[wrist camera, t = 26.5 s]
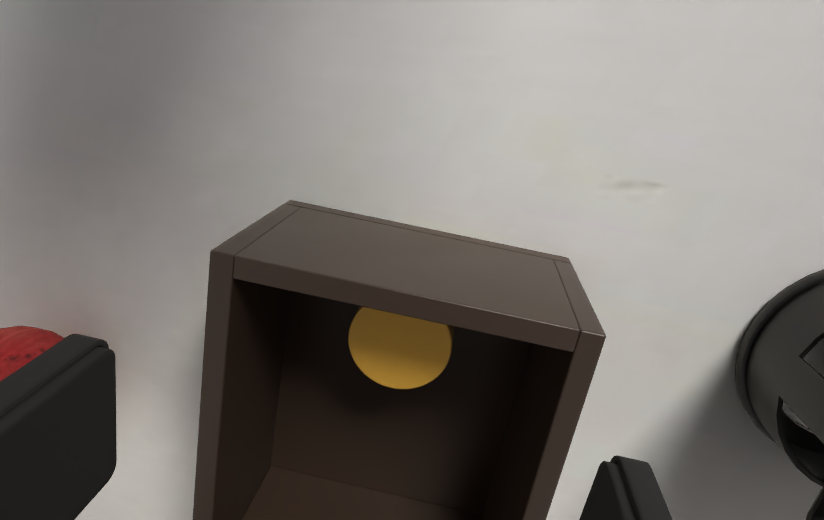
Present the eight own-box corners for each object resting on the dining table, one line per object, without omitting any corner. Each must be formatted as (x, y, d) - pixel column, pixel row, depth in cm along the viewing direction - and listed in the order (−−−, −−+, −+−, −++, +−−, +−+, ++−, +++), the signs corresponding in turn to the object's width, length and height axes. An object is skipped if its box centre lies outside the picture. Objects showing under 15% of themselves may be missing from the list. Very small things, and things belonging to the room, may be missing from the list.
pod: (384, 247, 24) (367, 279, 21) (470, 281, 24) (468, 318, 21) (355, 324, 26) (334, 367, 22) (437, 356, 26) (429, 404, 22)
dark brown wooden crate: (289, 199, 25) (209, 250, 18) (569, 257, 24) (606, 335, 17) (260, 464, 30) (187, 591, 22) (493, 519, 29) (497, 668, 22)
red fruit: (103, 294, 28) (-38, 375, 20) (140, 396, 29) (22, 506, 22) (2, 308, 29) (-169, 391, 21) (43, 406, 30) (-102, 515, 23)
